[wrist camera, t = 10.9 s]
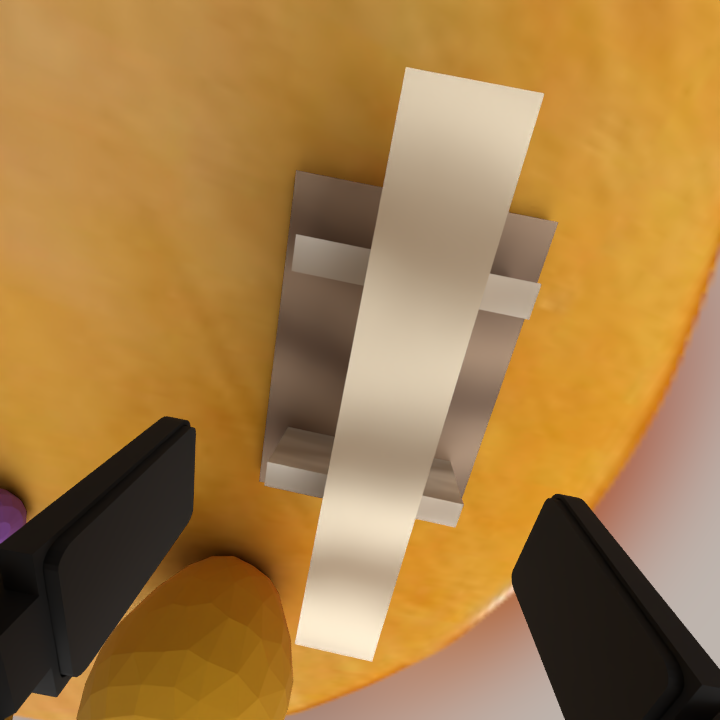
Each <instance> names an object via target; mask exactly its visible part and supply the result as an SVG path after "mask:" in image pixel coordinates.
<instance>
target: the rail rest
mask: <svg viewBox="0 0 720 720" xmlns="http://www.w3.org/2000/svg"><path fill="white" fill-rule="evenodd" d="M382 189H383V187H378V186H373V185H368V184H363V183H358V182H353V181H348V180H343V179H338V178H333V177H328V176H323V175H318V174H313V173H308V172H303V171H298V170H296V177H295V185H294V194H293V202H292V211H291V219H290V227H289V236H288V244H287V253H286V261H285V269H284V278H283V286H282V295H281V303H280V311H279V320H278V328H277V337H276V345H275V353H274V362H273V370H272V379H271V387H270V395H269V404H268V412H267V421H266V429H265V437H264V446H263V454H262V463H261V471H260V479H259V481H260V482H264V483H265V486H269V487H273V488H278V489H282V490H287V491H291V492H296V493H301V494H305V495H310V496H314V497H319V498H323V496H324V490H325V485H326V480H327V475H328V470H329V464H330V459H331V454H332V449H333V444H334V439H335V433H336V428H337V423H338V418H339V413H340V407H341V402H342V397H343V392H344V387H345V381H346V376H347V371H348V366H349V361H350V356H351V350H352V345H353V340H354V335H355V330H356V324H357V319H358V314H359V309H360V304H361V298H362V293H363V288H364V283H365V278H366V272H367V267H368V262H369V257H370V252H371V247H372V241H373V236H374V231H375V226H376V221H377V215H378V210H379V205H380V200H381V195H382ZM557 224H558V222H554V221H549V220H544V219H539V218H534V217H529V216H524V215H519V214H514V213H509V212H508V215H507V218H506V221H505V225H504V228H503V231H502V235H501V238H500V241H499V245H498V248H497V251H496V254H495V258H494V261H493V264H492V268H491V271H490V274H489V277H488V281H487V284H486V287H485V291H484V294H483V297H482V301H481V304H480V307H479V310H478V314H477V317H476V320H475V324H474V327H473V330H472V333H471V337H470V340H469V343H468V347H467V350H466V353H465V357H464V360H463V363H462V366H461V370H460V373H459V376H458V380H457V383H456V386H455V389H454V393H453V396H452V399H451V403H450V406H449V409H448V413H447V416H446V419H445V422H444V426H443V429H442V432H441V436H440V439H439V442H438V445H437V449H436V452H435V455H434V459H433V462H432V465H431V469H430V472H429V475H428V478H427V482H426V485H425V488H424V492H423V495H422V498H421V501H420V505H419V508H418V511H417V515H416V518H415V519H419V520H424V521H429V522H433V523H438V524H442V525H447V526H451V527H456V524H457V522H458V519H459V516H460V513H461V510H462V507H463V505H464V504H463V501H462V496H463V494H464V491H465V488H466V485H467V482H468V479H469V476H470V474H471V471H472V468H473V465H474V462H475V459H476V456H477V453H478V451H479V448H480V445H481V442H482V439H483V436H484V433H485V431H486V428H487V425H488V422H489V419H490V416H491V413H492V411H493V408H494V405H495V402H496V399H497V396H498V393H499V390H500V388H501V385H502V382H503V379H504V376H505V373H506V370H507V368H508V365H509V362H510V359H511V356H512V353H513V350H514V348H515V345H516V342H517V339H518V336H519V333H520V330H521V327H522V325H523V322H524V319H529V318H530V315H531V312H532V310H533V307H534V304H535V301H536V298H537V295H538V293H539V290H540V287H541V284H539V283H537V282H538V279H539V276H540V273H541V270H542V267H543V264H544V262H545V259H546V256H547V253H548V250H549V247H550V244H551V242H552V239H553V236H554V233H555V230H556V227H557Z"/></svg>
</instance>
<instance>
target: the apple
mask: <svg viewBox="0 0 720 720" xmlns="http://www.w3.org/2000/svg"><path fill="white" fill-rule="evenodd" d="M292 685H293V670H292V655H291V639H290V635H289V631H288V627H287V623H286V619H285V615H284V612H283V608H282V604H281V600H280V596H279V593H278V591H277V590H276V588H275V586H274V585H273V583H272V581H271V580H270V579H269V578H268V577H267V576H266V575H264V574H263V573H262V572H260V571H259V570H258V569H257V568H255V567H254V566H253V565H251V564H249V563H247V562H245V561H243V560H241V559H239V558H237V557H235V556H211V557H209V558H206V559H204V560H201V561H198V562H196V563H193V564H191V565H188V566H187V567H186V568H184V569H183V570H181V571H180V572H178V573H177V574H175V575H174V576H173V577H171V578H170V579H168V580H167V581H165V582H164V583H162V584H161V585H160V586H158V587H157V588H156V589H155V590H154V591H153V592H152V593H151V594H149V595H148V596H147V597H146V598H145V599H144V600H143V601H142V602H141V603H140V604H139V605H138V606H137V607H136V608H135V609H134V610H133V611H132V612H131V613H129V614H128V615H127V616H126V617H125V618H124V619H123V620H122V621H121V622H120V623H119V625H118V626H117V627H116V628H115V629H114V630H113V632H112V633H111V635H110V636H109V638H108V639H107V641H106V642H105V644H104V645H103V647H102V648H101V650H100V652H99V654H98V656H97V659H96V661H95V663H94V665H93V668H92V670H91V672H90V674H89V677H88V679H87V681H86V683H85V687H84V691H83V695H82V699H81V703H80V707H79V710H78V714H77V720H284V718H285V715H286V712H287V710H288V705H289V700H290V695H291V690H292Z"/></svg>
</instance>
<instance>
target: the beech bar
mask: <svg viewBox="0 0 720 720" xmlns="http://www.w3.org/2000/svg"><path fill="white" fill-rule="evenodd" d="M543 96H544V93H539V92H534V91H528V90H523V89H518V88H513V87H507V86H502V85H497V84H492V83H486V82H481V81H476V80H471V79H465V78H460V77H455V76H450V75H444V74H439V73H434V72H429V71H424V70H418V69H413V68H408V67H406V70H405V75H404V80H403V86H402V91H401V96H400V101H399V106H398V112H397V117H396V122H395V127H394V132H393V138H392V143H391V148H390V153H389V158H388V164H387V169H386V174H385V179H384V184H383V189H382V195H381V200H380V205H379V210H378V215H377V221H376V226H375V231H374V236H373V241H372V247H371V252H370V257H369V262H368V267H367V272H366V278H365V283H364V288H363V293H362V298H361V304H360V309H359V314H358V319H357V324H356V330H355V335H354V340H353V345H352V350H351V356H350V361H349V366H348V371H347V376H346V381H345V387H344V392H343V397H342V402H341V407H340V413H339V418H338V423H337V428H336V433H335V439H334V444H333V449H332V454H331V459H330V464H329V470H328V475H327V480H326V485H325V490H324V496H323V501H322V506H321V511H320V516H319V522H318V527H317V532H316V537H315V542H314V547H313V553H312V558H311V563H310V568H309V573H308V579H307V584H306V589H305V594H304V599H303V605H302V610H301V615H300V620H299V625H298V631H297V636H296V641H295V644H297V645H302V646H306V647H310V648H315V649H319V650H324V651H328V652H332V653H337V654H341V655H345V656H350V657H354V658H359V659H363V660H367V661H372V660H373V656H374V653H375V650H376V646H377V643H378V640H379V637H380V633H381V630H382V627H383V623H384V620H385V617H386V614H387V610H388V607H389V604H390V600H391V597H392V594H393V590H394V587H395V584H396V581H397V577H398V574H399V571H400V567H401V564H402V561H403V558H404V554H405V551H406V548H407V544H408V541H409V538H410V534H411V531H412V528H413V525H414V521H415V518H416V515H417V511H418V508H419V505H420V501H421V498H422V495H423V492H424V488H425V485H426V482H427V478H428V475H429V472H430V469H431V465H432V462H433V459H434V455H435V452H436V449H437V445H438V442H439V439H440V436H441V432H442V429H443V426H444V422H445V419H446V416H447V413H448V409H449V406H450V403H451V399H452V396H453V393H454V389H455V386H456V383H457V380H458V376H459V373H460V370H461V366H462V363H463V360H464V357H465V353H466V350H467V347H468V343H469V340H470V337H471V333H472V330H473V327H474V324H475V320H476V317H477V314H478V310H479V307H480V304H481V301H482V297H483V294H484V291H485V287H486V284H487V281H488V277H489V274H490V271H491V268H492V264H493V261H494V258H495V254H496V251H497V248H498V245H499V241H500V238H501V235H502V231H503V228H504V225H505V221H506V218H507V215H508V212H509V208H510V205H511V202H512V198H513V195H514V192H515V189H516V185H517V182H518V179H519V175H520V172H521V169H522V165H523V162H524V159H525V156H526V152H527V149H528V146H529V142H530V139H531V136H532V133H533V129H534V126H535V123H536V119H537V116H538V113H539V109H540V106H541V103H542V100H543Z"/></svg>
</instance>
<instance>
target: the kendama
mask: <svg viewBox="0 0 720 720" xmlns="http://www.w3.org/2000/svg"><path fill="white" fill-rule="evenodd" d="M26 513H27V511H26V509H25V507H24V505H23V503H22V501H21V500H20V499H19V498H18V497H16V496H15V495H13V494H12V493H10V492H9V491H7V490H5V489H0V544H1V543H2V542H3V541H4V540H6V539H7V538H8V537H10V536H11V535H12V534H13V533H15V532H16V531H17V530H19V529H20V528H21V527H22V526H24V525H25V524H26Z"/></svg>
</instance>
